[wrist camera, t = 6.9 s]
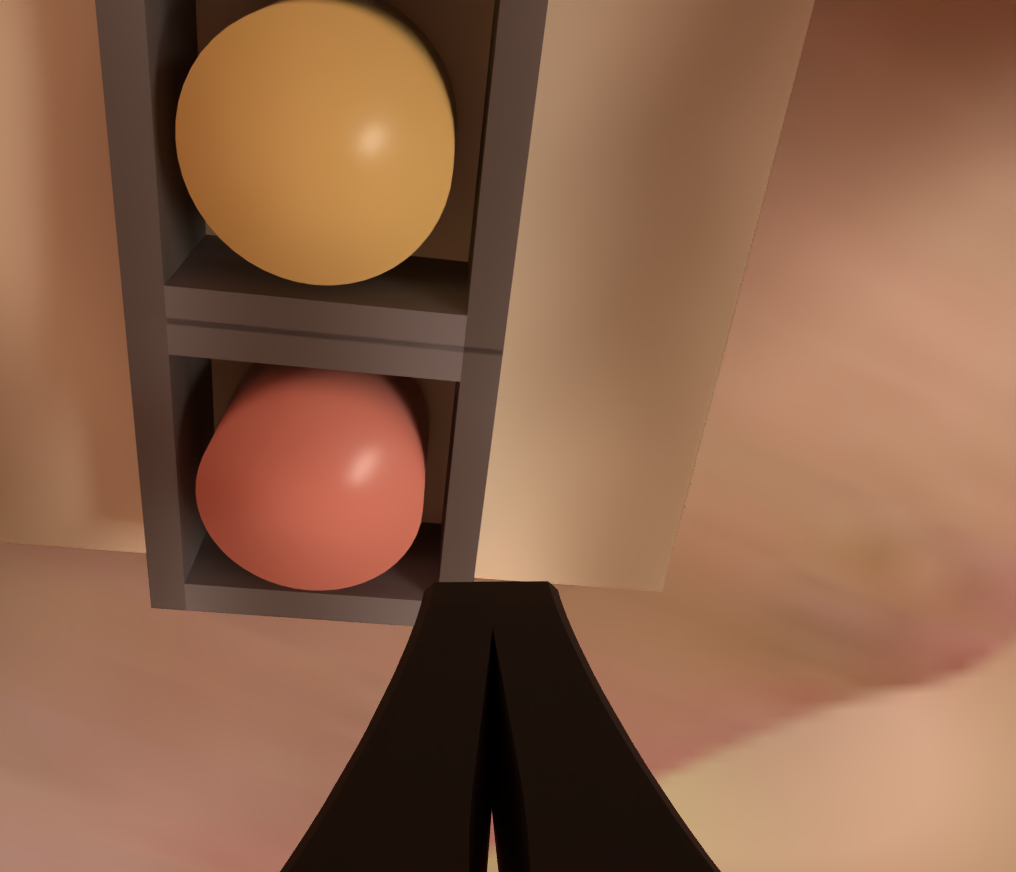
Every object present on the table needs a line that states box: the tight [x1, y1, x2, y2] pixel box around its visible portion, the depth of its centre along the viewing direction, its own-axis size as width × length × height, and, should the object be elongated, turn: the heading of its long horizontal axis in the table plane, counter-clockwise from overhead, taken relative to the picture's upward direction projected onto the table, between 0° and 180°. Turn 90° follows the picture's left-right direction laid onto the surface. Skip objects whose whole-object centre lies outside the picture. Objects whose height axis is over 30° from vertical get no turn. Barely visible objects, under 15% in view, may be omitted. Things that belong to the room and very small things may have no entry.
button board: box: [0, 0, 815, 626], centre depth 13 cm, size 14×20×4 cm
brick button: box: [196, 363, 429, 591], centre depth 16 cm, size 4×4×2 cm
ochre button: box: [175, 0, 457, 285], centre depth 13 cm, size 4×4×2 cm
